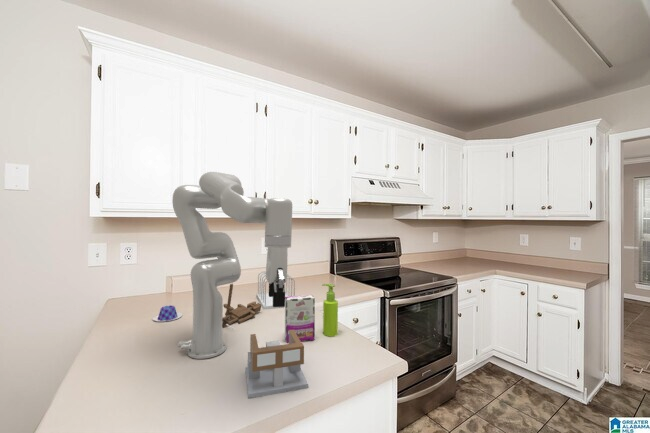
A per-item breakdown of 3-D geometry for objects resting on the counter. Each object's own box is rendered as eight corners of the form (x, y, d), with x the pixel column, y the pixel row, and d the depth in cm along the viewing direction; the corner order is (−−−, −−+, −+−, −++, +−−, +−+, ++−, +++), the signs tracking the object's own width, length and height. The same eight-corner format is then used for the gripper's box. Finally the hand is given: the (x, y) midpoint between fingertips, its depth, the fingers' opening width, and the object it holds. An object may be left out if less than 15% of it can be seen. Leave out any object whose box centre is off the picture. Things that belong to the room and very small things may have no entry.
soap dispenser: (327, 329, 120) (327, 281, 120) (340, 333, 116) (340, 284, 116) (318, 333, 115) (318, 284, 116) (331, 337, 111) (332, 286, 111)
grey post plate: (248, 398, 73) (248, 367, 73) (245, 370, 86) (245, 344, 86) (308, 387, 78) (308, 358, 78) (296, 362, 91) (297, 338, 91)
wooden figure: (213, 287, 121) (254, 272, 143) (208, 323, 125) (249, 304, 146) (237, 300, 115) (276, 283, 137) (231, 338, 118) (270, 315, 140)
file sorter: (256, 297, 168) (256, 271, 169) (285, 294, 175) (285, 269, 175) (263, 309, 145) (264, 279, 145) (296, 306, 152) (296, 277, 152)
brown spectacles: (252, 372, 74) (252, 353, 74) (249, 351, 86) (249, 334, 86) (304, 364, 79) (304, 346, 79) (294, 345, 91) (294, 329, 91)
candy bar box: (312, 335, 113) (312, 294, 114) (314, 340, 109) (315, 297, 109) (284, 338, 110) (284, 296, 111) (285, 343, 106) (286, 299, 106)
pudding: (179, 321, 128) (180, 309, 128) (149, 324, 124) (149, 312, 124) (184, 313, 139) (184, 302, 139) (156, 315, 135) (156, 304, 135)
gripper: (262, 238, 88) (260, 293, 88) (268, 244, 72) (266, 312, 72) (286, 239, 90) (284, 292, 90) (297, 244, 74) (295, 310, 74)
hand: (276, 301), depth 81 cm, fingers open, 9 cm apart
